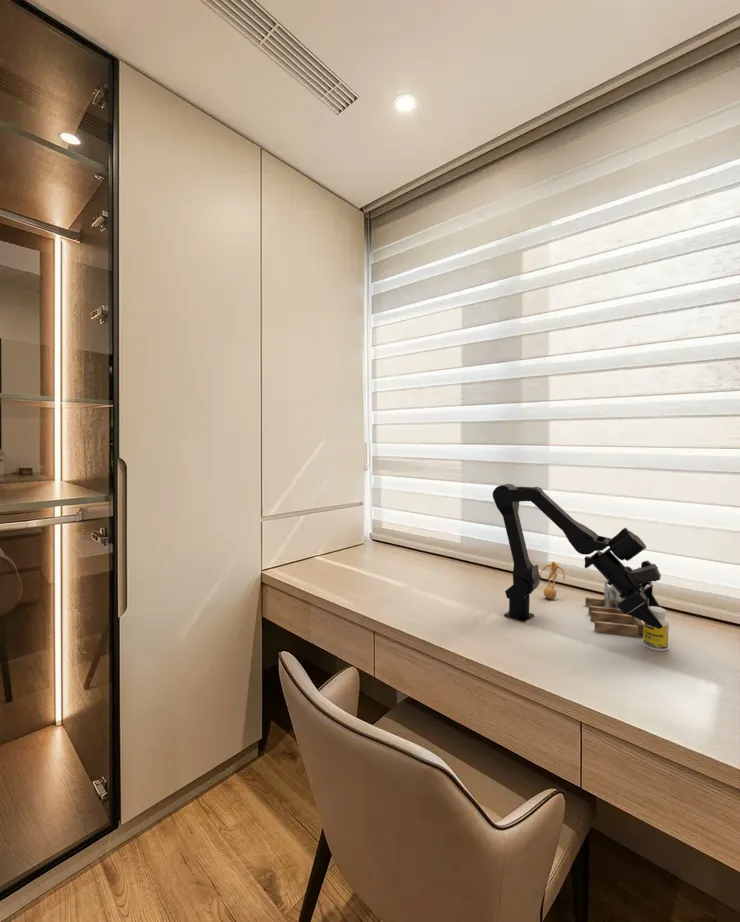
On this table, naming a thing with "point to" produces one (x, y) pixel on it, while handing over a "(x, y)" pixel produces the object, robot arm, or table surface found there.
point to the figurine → (550, 591)
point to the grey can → (611, 596)
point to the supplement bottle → (657, 631)
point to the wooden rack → (613, 619)
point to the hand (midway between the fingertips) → (662, 621)
